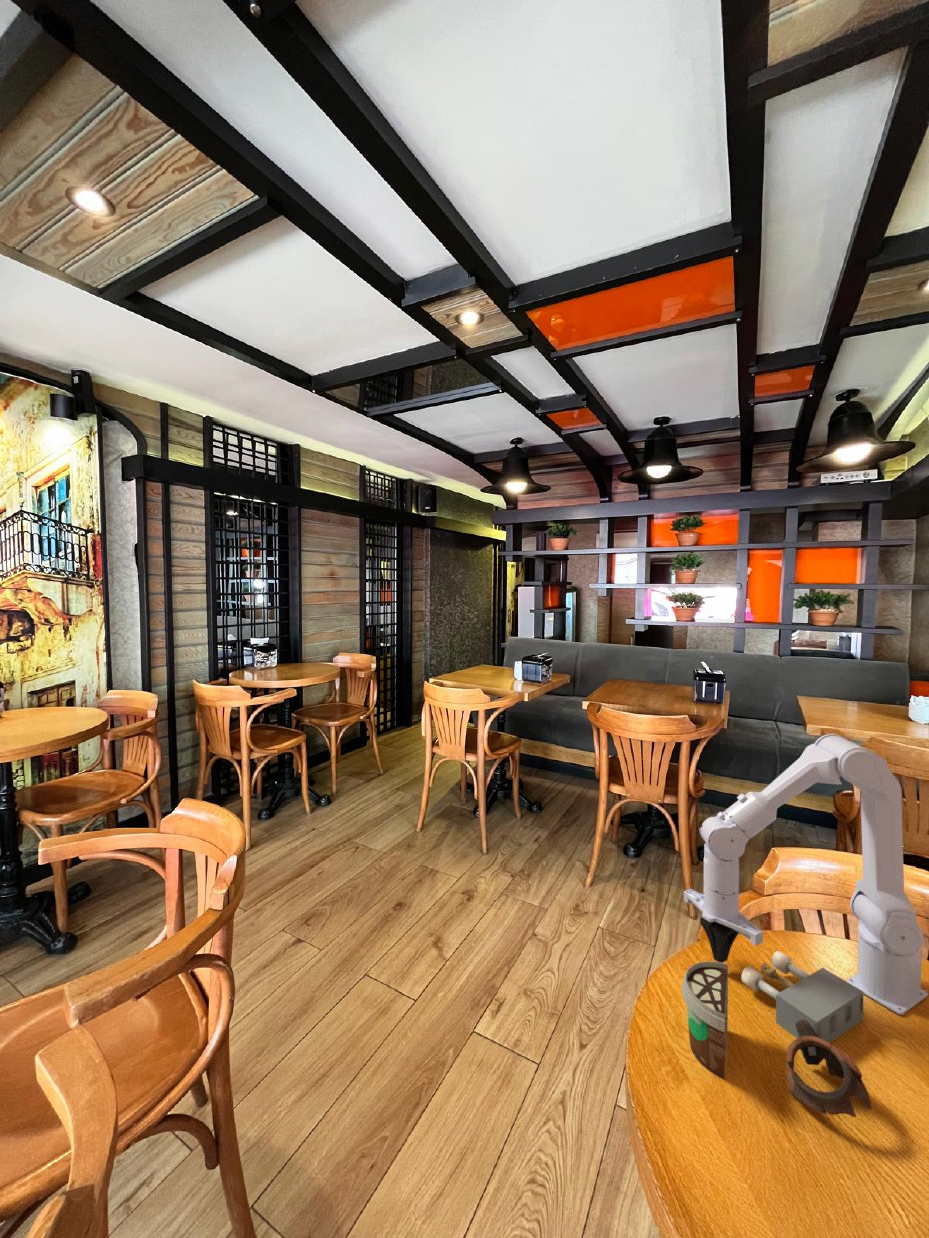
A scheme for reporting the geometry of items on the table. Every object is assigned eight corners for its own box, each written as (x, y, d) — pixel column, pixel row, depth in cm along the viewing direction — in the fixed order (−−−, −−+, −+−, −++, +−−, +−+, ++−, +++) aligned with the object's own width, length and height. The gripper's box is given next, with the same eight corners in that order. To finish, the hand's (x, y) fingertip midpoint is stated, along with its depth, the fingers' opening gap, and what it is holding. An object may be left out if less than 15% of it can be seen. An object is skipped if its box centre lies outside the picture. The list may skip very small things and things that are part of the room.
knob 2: (781, 963, 91) (781, 948, 91) (824, 991, 84) (824, 975, 84) (771, 968, 90) (771, 953, 89) (815, 997, 83) (815, 980, 83)
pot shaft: (767, 971, 88) (767, 961, 88) (808, 998, 82) (808, 987, 82) (760, 974, 88) (760, 964, 87) (802, 1002, 81) (802, 991, 81)
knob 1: (751, 979, 87) (751, 963, 87) (795, 1009, 81) (795, 992, 80) (741, 985, 86) (741, 969, 86) (784, 1016, 79) (784, 998, 79)
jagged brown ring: (896, 1136, 63) (877, 1095, 61) (821, 1155, 65) (801, 1115, 63) (834, 1034, 74) (816, 996, 73) (772, 1052, 76) (753, 1016, 74)
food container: (685, 1008, 83) (686, 949, 82) (727, 1023, 80) (728, 962, 79) (676, 1068, 72) (676, 1000, 72) (724, 1088, 69) (724, 1017, 69)
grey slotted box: (822, 993, 85) (822, 967, 85) (863, 1019, 80) (863, 991, 80) (776, 1022, 80) (776, 994, 80) (816, 1052, 74) (816, 1022, 74)
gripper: (672, 872, 95) (672, 942, 96) (744, 914, 82) (744, 994, 83) (698, 863, 98) (697, 931, 99) (771, 902, 85) (770, 980, 86)
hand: (720, 959), depth 91 cm, fingers closed
